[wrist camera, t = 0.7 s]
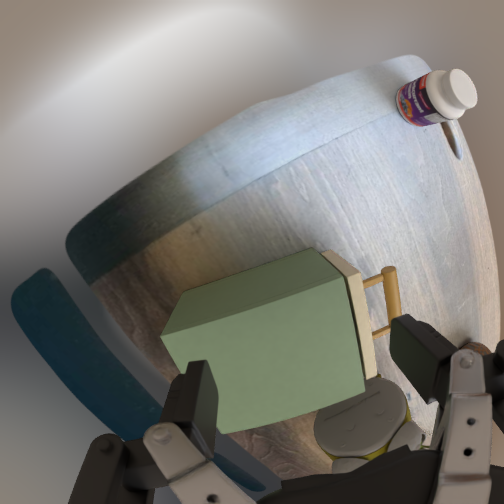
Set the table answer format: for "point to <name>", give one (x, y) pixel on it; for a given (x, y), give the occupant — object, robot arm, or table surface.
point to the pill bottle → (436, 97)
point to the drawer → (360, 306)
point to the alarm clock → (366, 425)
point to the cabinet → (270, 340)
